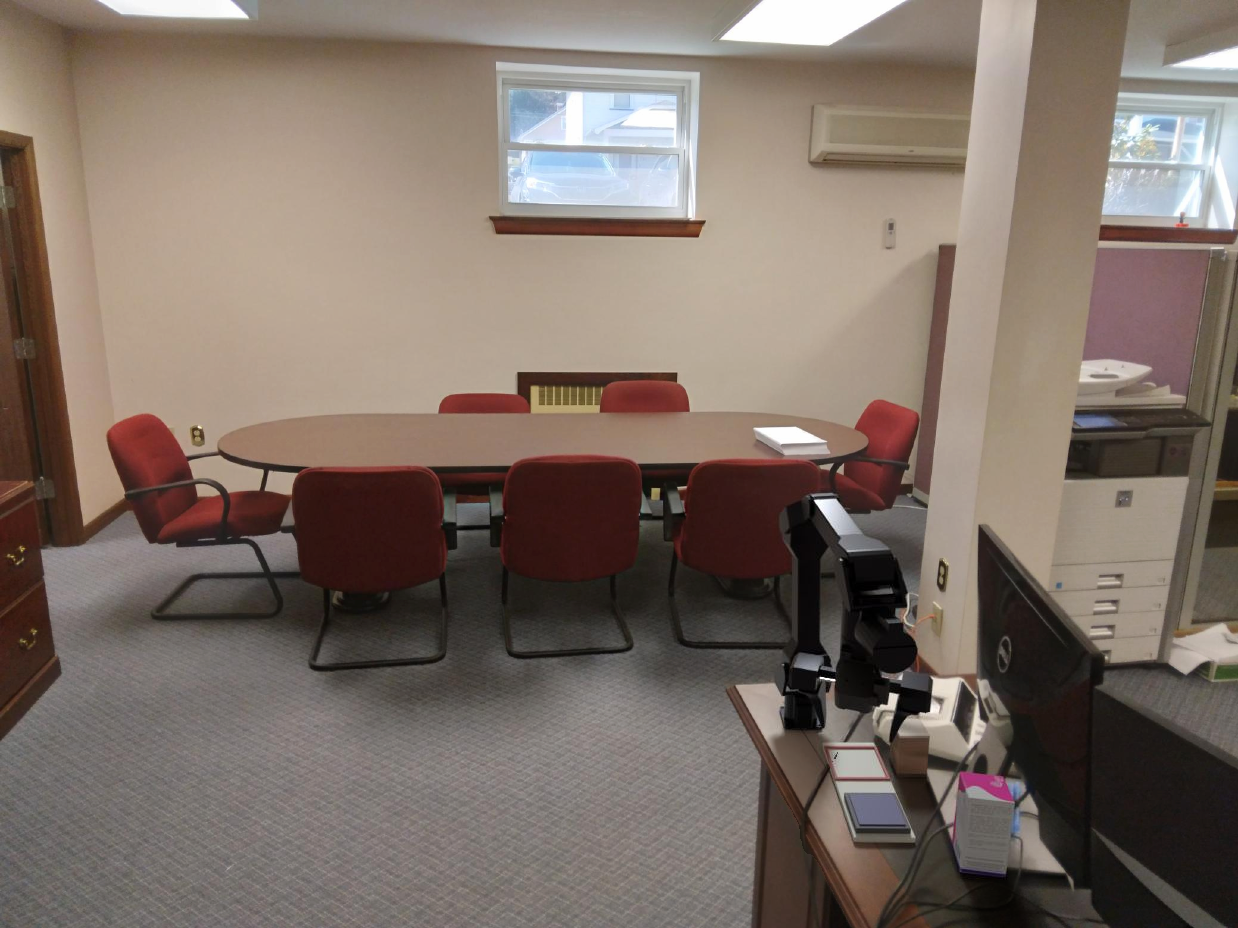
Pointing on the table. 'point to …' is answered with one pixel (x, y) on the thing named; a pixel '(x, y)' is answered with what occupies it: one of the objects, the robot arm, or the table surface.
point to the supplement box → (982, 824)
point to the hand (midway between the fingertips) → (856, 733)
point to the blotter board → (867, 794)
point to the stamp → (910, 749)
